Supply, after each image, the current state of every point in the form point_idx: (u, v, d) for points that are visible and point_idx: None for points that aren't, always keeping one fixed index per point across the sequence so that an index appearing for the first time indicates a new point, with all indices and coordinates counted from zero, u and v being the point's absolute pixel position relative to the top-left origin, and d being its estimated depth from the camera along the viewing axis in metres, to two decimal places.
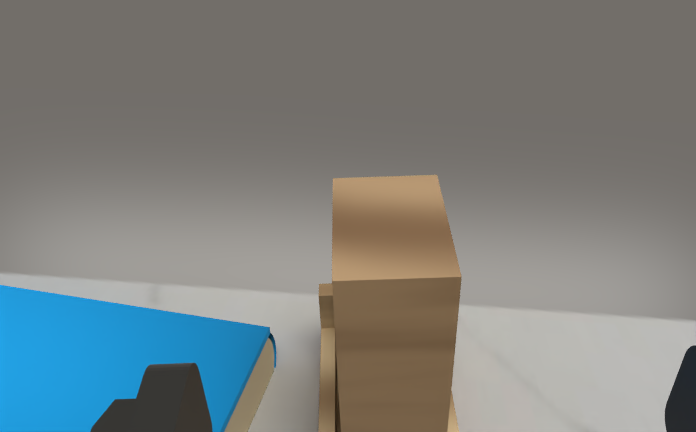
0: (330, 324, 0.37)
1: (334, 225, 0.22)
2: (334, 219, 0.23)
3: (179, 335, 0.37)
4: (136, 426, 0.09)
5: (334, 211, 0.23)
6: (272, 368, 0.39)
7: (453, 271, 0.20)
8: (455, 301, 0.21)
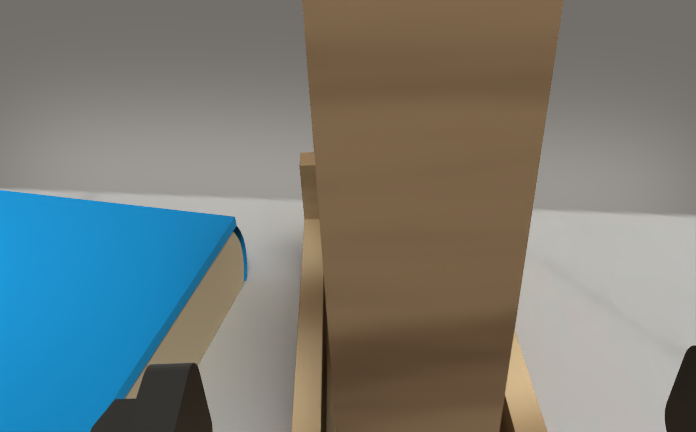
0: (317, 212, 0.26)
1: None
2: None
3: (107, 227, 0.26)
4: (136, 426, 0.09)
5: None
6: (241, 280, 0.28)
7: None
8: None
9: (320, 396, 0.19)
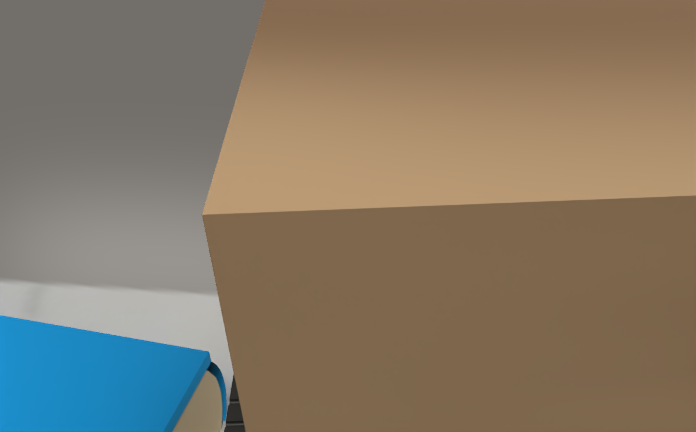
0: None
1: (271, 8, 0.05)
2: None
3: (43, 366, 0.20)
4: None
5: None
6: (218, 422, 0.22)
7: None
8: None
9: None
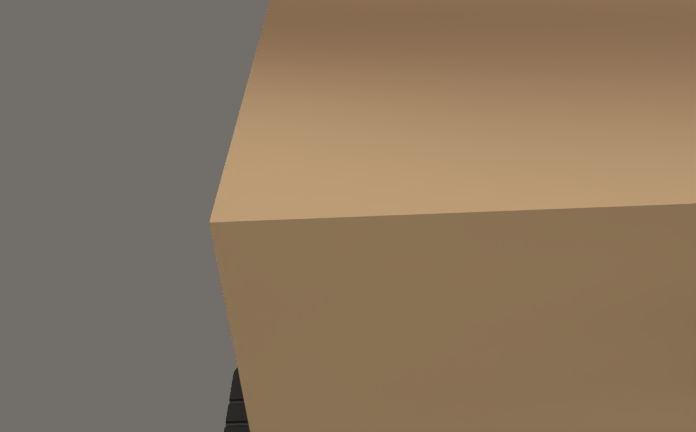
0: None
1: (275, 12, 0.05)
2: None
3: None
4: None
5: None
6: None
7: None
8: None
9: None
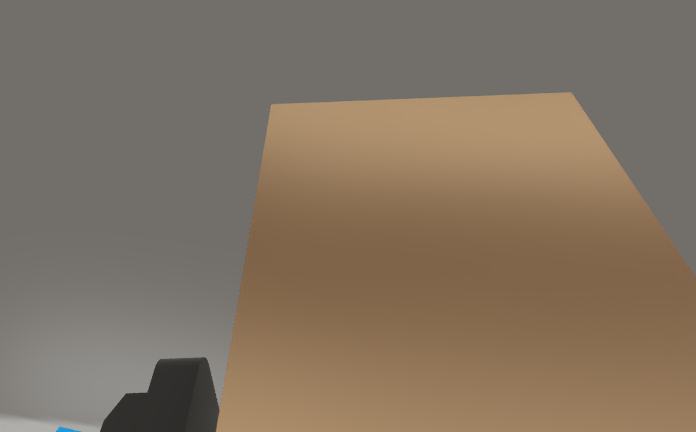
0: None
1: (253, 250, 0.06)
2: (257, 227, 0.06)
3: None
4: (148, 419, 0.09)
5: (261, 199, 0.07)
6: None
7: None
8: None
9: None
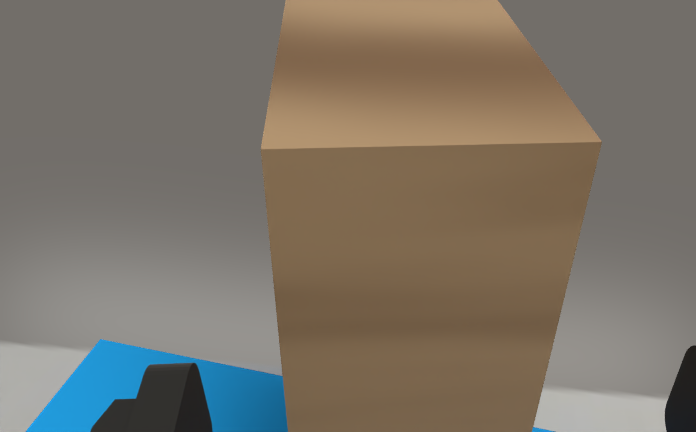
0: None
1: (280, 57, 0.10)
2: (282, 48, 0.10)
3: None
4: (136, 426, 0.09)
5: (283, 38, 0.11)
6: None
7: (576, 132, 0.08)
8: (575, 213, 0.08)
9: None
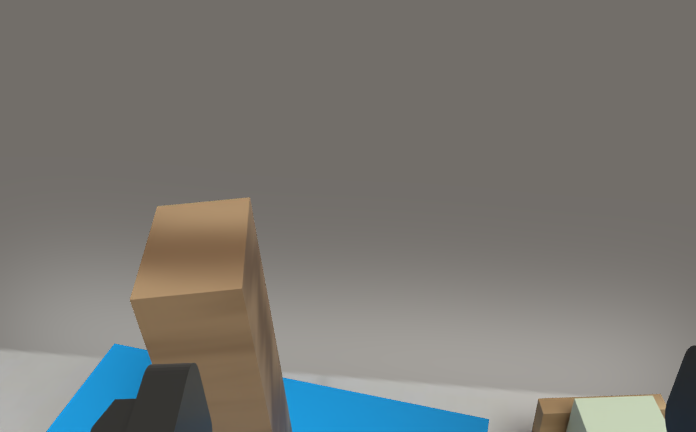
0: None
1: (146, 249, 0.26)
2: (147, 244, 0.26)
3: (400, 425, 0.37)
4: (136, 426, 0.09)
5: (150, 236, 0.26)
6: None
7: (236, 284, 0.24)
8: (243, 309, 0.24)
9: None
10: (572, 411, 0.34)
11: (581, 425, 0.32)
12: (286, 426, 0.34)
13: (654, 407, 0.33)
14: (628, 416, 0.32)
